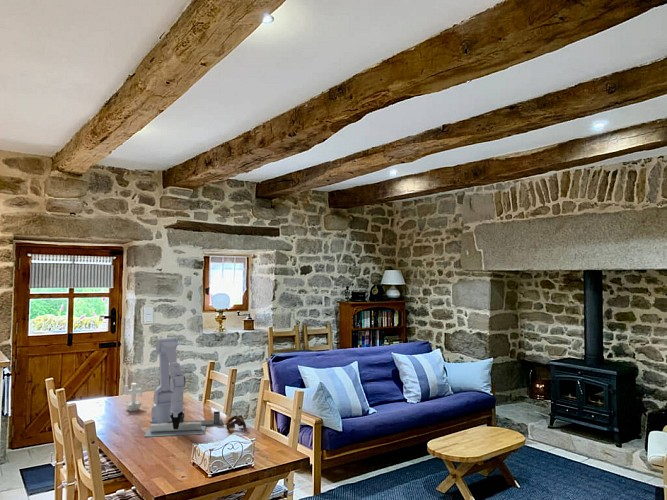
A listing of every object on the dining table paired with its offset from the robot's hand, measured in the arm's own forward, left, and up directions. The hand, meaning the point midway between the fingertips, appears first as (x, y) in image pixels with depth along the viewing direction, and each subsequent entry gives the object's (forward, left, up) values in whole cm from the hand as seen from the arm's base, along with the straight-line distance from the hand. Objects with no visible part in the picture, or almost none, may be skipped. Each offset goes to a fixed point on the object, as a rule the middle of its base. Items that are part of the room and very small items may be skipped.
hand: (176, 427), depth 246 cm
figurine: (-45, +24, -2) cm, 51 cm away
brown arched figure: (+27, +14, -2) cm, 30 cm away
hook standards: (+4, +14, -2) cm, 15 cm away
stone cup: (-39, +50, -2) cm, 64 cm away
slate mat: (0, 0, -2) cm, 2 cm away
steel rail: (0, 0, -1) cm, 1 cm away
